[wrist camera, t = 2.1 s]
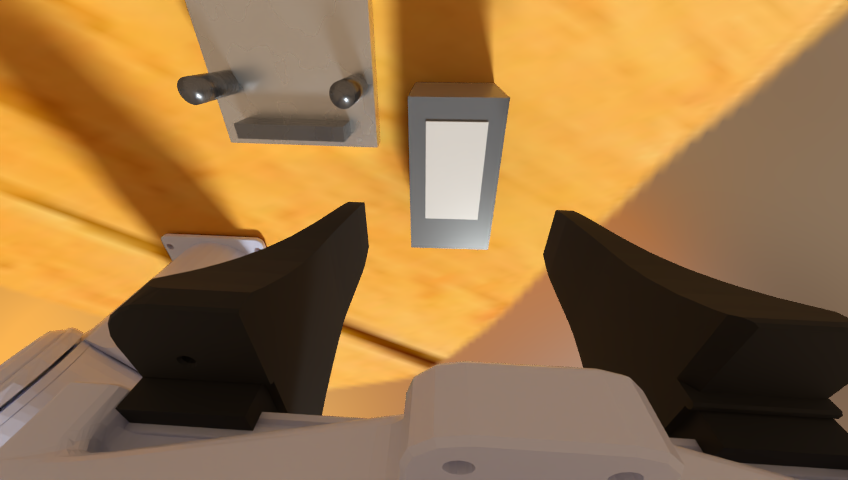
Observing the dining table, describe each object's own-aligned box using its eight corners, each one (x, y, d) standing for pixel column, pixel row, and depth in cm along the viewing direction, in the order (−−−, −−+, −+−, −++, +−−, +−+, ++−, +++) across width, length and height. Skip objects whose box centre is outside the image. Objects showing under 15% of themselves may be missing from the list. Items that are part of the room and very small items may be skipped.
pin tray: (380, 142, 19) (367, 165, 16) (240, 137, 20) (199, 159, 16) (360, -189, 12) (329, -273, 9) (140, -188, 13) (30, -268, 9)
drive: (479, 208, 22) (488, 250, 18) (417, 207, 22) (411, 248, 18) (493, 82, 17) (510, 98, 13) (416, 81, 18) (407, 97, 13)
